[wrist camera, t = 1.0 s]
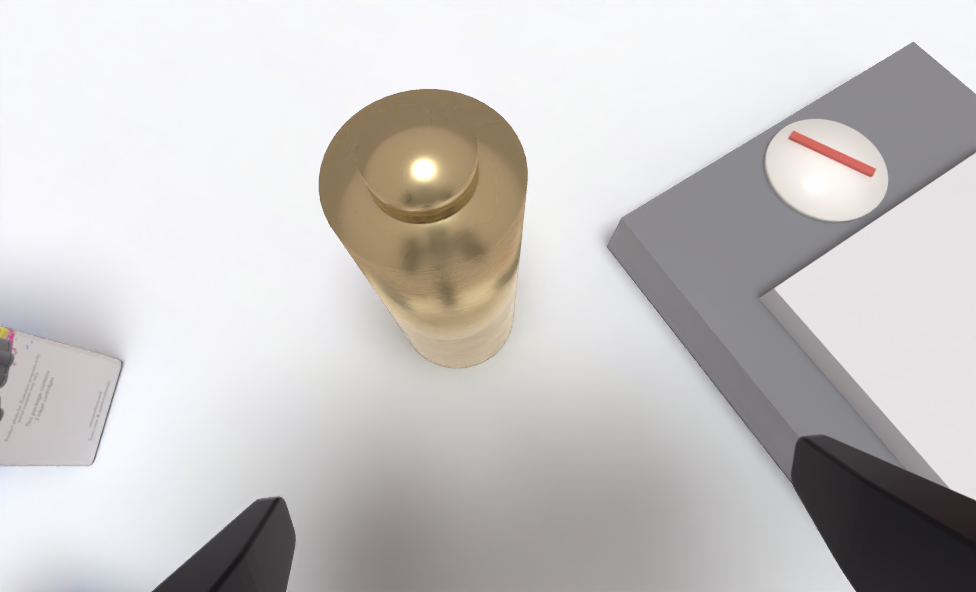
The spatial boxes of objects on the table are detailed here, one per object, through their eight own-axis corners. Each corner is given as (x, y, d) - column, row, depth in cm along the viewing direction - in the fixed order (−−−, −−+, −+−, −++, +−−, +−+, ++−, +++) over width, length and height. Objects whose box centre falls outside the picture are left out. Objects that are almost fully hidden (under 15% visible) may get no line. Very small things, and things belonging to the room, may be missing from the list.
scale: (922, 649, 19) (1034, 698, 15) (607, 246, 25) (628, 204, 21) (1213, 394, 22) (1371, 378, 18) (870, 85, 28) (933, 21, 24)
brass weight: (439, 390, 23) (369, 297, 10) (384, 298, 24) (266, 122, 12) (534, 330, 23) (575, 178, 11) (476, 245, 25) (455, 28, 13)
